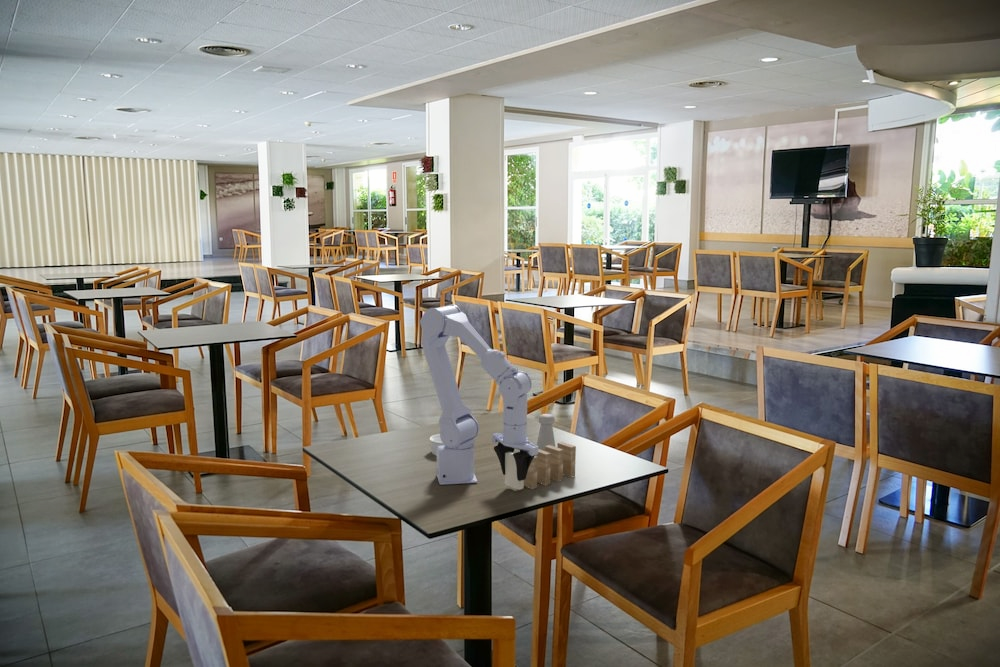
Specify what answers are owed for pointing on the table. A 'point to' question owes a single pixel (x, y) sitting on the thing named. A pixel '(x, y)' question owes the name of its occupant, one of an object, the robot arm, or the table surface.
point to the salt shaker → (546, 431)
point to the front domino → (512, 472)
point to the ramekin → (435, 443)
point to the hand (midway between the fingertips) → (514, 476)
